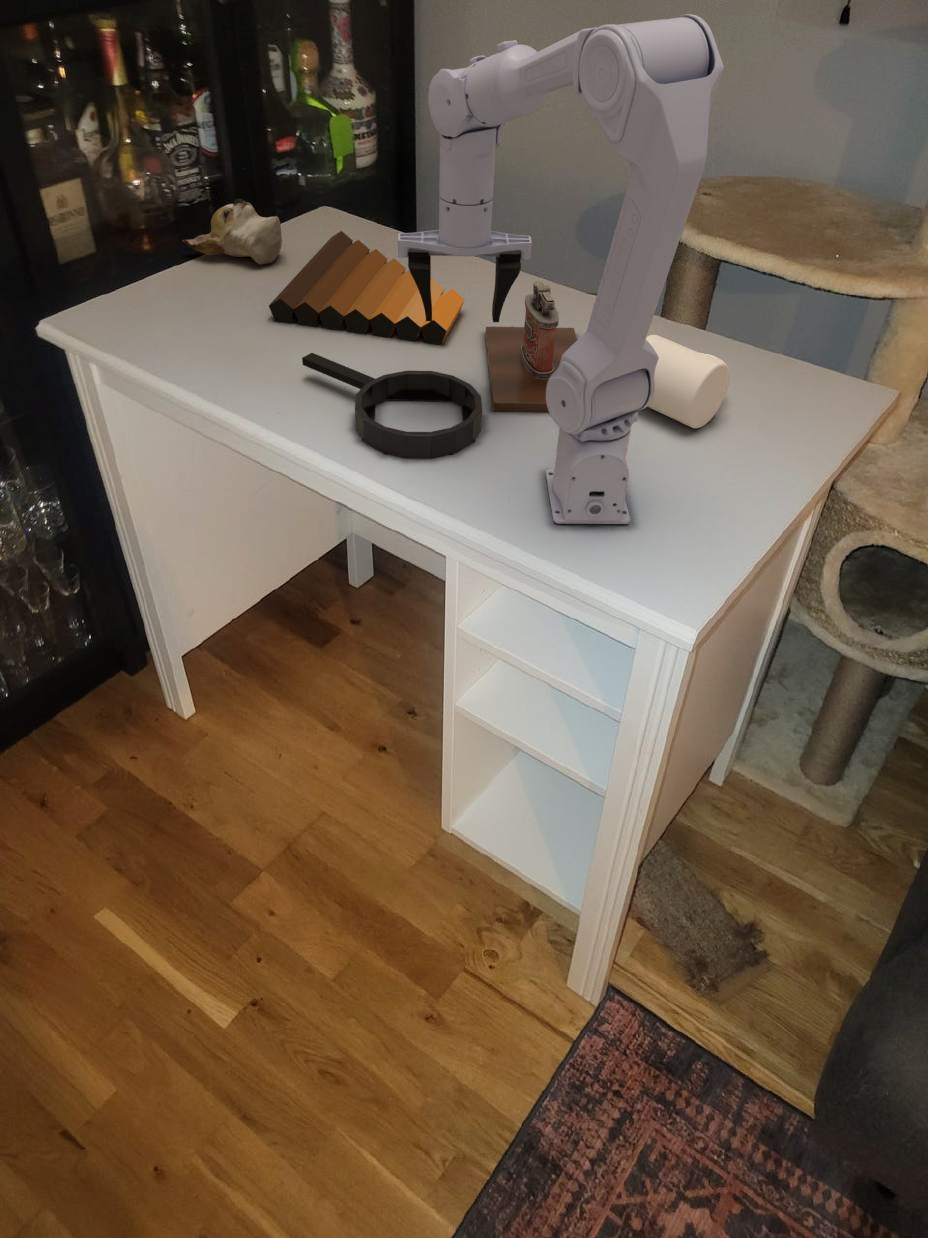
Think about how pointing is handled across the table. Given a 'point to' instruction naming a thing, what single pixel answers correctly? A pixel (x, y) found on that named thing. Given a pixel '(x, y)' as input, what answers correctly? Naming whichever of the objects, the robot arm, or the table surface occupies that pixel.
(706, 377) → the mug
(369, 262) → the pan flute
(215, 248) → the ceramic sculpture
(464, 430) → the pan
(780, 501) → the table surface
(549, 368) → the lighter
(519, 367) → the board
